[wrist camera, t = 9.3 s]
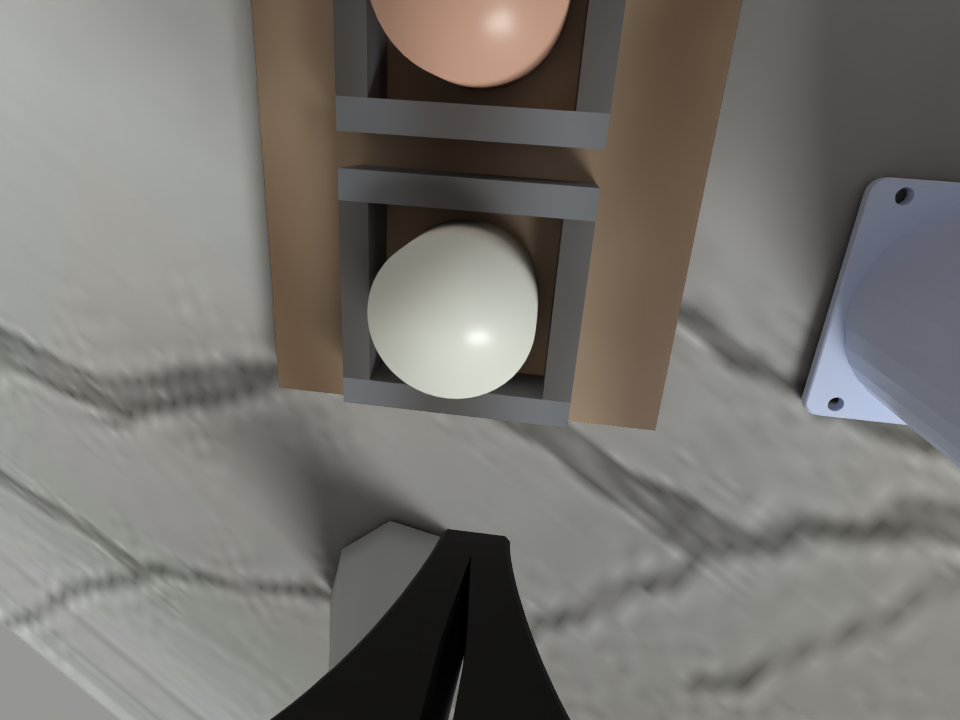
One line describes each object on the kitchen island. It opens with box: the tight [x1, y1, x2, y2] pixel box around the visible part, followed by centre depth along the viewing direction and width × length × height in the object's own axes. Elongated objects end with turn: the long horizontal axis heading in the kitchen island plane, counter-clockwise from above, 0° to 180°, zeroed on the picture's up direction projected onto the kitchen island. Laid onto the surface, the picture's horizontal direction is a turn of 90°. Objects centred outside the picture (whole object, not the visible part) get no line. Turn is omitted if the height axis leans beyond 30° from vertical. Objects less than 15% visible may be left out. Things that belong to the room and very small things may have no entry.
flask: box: [328, 521, 440, 672], centre depth 22 cm, size 7×7×10 cm
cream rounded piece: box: [367, 219, 539, 399], centre depth 18 cm, size 5×5×3 cm
